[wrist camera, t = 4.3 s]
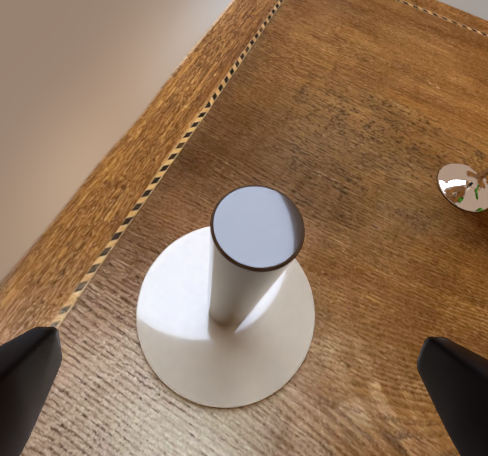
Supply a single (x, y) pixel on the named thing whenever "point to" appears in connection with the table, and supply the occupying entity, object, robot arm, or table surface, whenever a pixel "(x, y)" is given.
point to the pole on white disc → (230, 303)
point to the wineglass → (464, 186)
